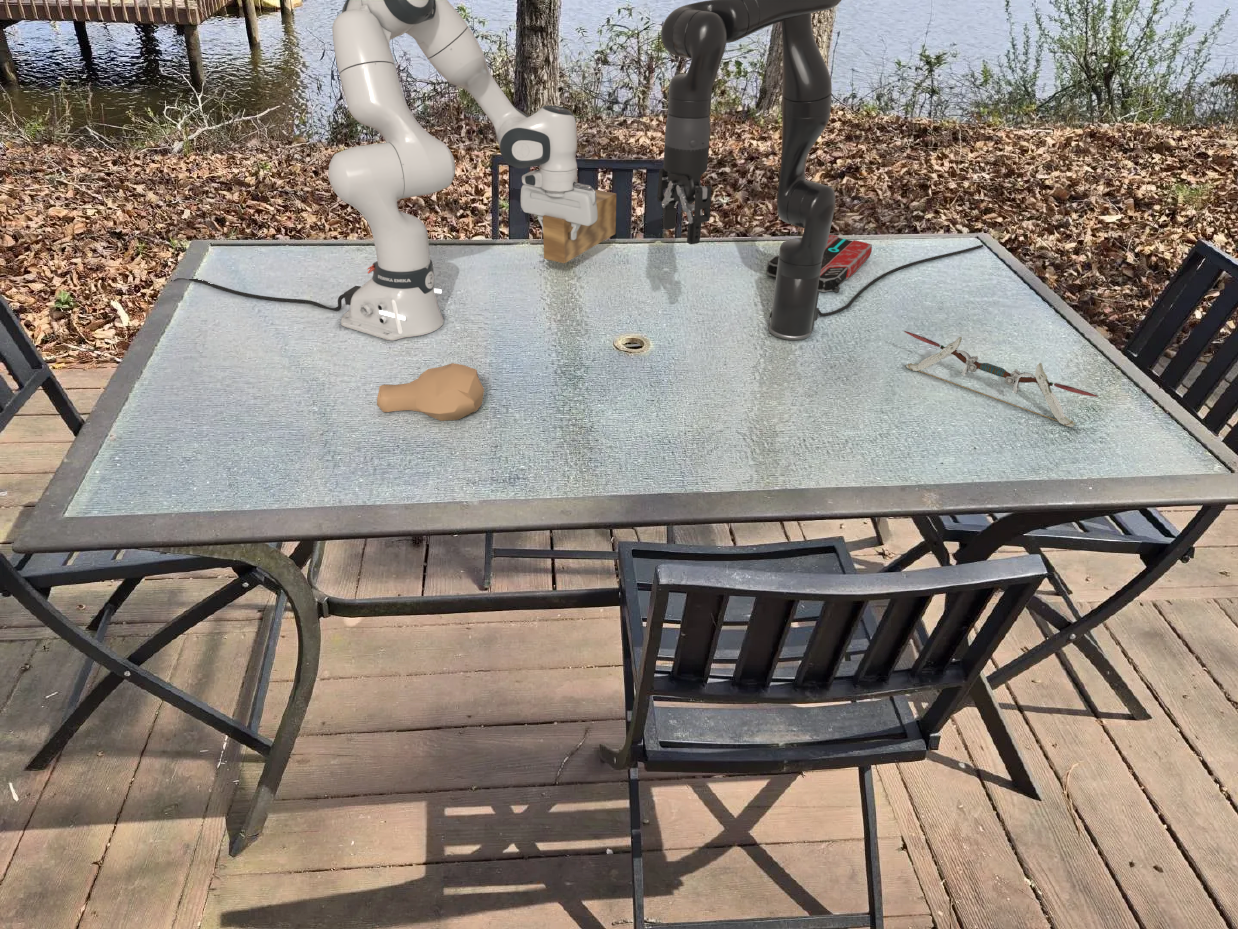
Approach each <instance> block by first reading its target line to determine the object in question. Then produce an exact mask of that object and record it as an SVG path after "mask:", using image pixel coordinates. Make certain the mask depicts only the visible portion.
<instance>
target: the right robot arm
mask: <svg viewBox="0 0 1238 929" xmlns="http://www.w3.org/2000/svg"><path fill="white" fill-rule="evenodd" d="M841 1H842V0H702V1H697V2H693V3H689V4H685V5H681V6H680V7H677V8H676V9H674V10H673V11H671V12H670V13H669V14H668V15H667V17H666V18H665V20H664V22H663V24H662V26H661V31H660V32H661V33H660V37H661V42H662V45H663V47H664V48H665V50H666V51H667V52H668V53H670V54H671V55H673V56H675V57H679V58H684V59H689V60H690V65H689V67H688V69H687V72H686V73H679V74H676V75H674V76H672V78H671V79H670V82H669V86H668V102H667V116H666V121H665V122H666V123H665V130H664V131H665V132H664V146H663V148H664V149H663V165H662V166H663V167H661V168H659V171H658V183H657V194H656V199H657V202H661V207H662V208H663V220H662V222H663V223H662V227H663V229H664V230H666V231H667V230H675V228H676V223H677V208H676V207H677V205H678V204H679V205H681V208H682V211H683V212H684V213H686V217H687V221H688V222H687V223H688V224H687V234H686V243H687V244H689V245H696V244H699V243H700V240H701V232H702V224H703V223H708V222H710V220H711V201H712V187H711V185H705V186H704V185H702V183H701V177H702V175H704V174H705V173H706V172H707V170H708V164H709V152H710V151H709V150H710V138H711V106H712V94H713V92H712V91H713V87H714V84H715V81H716V78H717V75H718V72H719V68H720V66H721V63H722V59H723V56H724V53H725V50H726V45H727V44H731V43H734V42H737V41H739V40H741V39H744V38H745V37H748V36H750V35H752V34H754V33H756V32H758V31H760V30H763V29H766V28H769V27H770V26H773V25H776V24H778V23H780V27H781V40H782V42H781V43H782V89H781V91H782V92H781V123H782V124H781V126H782V127H781V130H782V131H781V156H780V158H781V159H780V169H779V177H778V187H777V196H776V197H777V199H776V210H777V214H778V217H779V219H780V220H781V221H782V222H784V223H786V224H788V225H792V226H795V227H799V228H802V229H803V233H802V236H801V237H796V238H790V239H787V240H785V241H783V242H782V243H781V244H780V247H779V253H778V255H779V259H778V266H777V274H776V277H775V282H774V291H773V298H772V305H771V311H770V313H769V320H770V321H769V326H768V332H769V333H770V334H771V335H772V336H774V337H776V338H778V339H781V340H786V341H802V340H806V339H808V338H810V337H811V335H812V332H813V331H814V328H815V322H816V321H818V317H819V316H820V317H828V316H832V315H836V314H838V313H840V312H842V311H845V310H847V309H848V308H850V307H851V306H852V304H853V303H854V302H855V300H856V299H857V298H859V297H860V296H861V294H863V293H864V292H865V291H866V290H867V289H869V287H871V286H872V285H873V284H875V283H877V282H878V281H879V280H881V279H883V278H885V277H886V276H888V275H891V274H893V273H896V272H897V271H901V270H903V269H906V268H909V267H912V266H915V265H918V264H922V263H926V262H930V261H934V260H938V259H942V258H946V257H950V256H955V255H960V254H964V253H966V252H972V251H974V250H975V251H976V250H978V249H981V248H984V244H979V245H975V246H972V247H969V248H965V249H961V250H957V251H953V252H949V253H944V254H939V255H935V256H932V257H927V258H923V259H919V260H916V261H912V262H909V263H906V264H904V265H903V264H902V265H900V266H897V267H895V268H893V269H891V270H889V271H886V272H885V273H883V274H882V273H881V275H879V276H877V277H876V278H874V279H873V280H871V281H870V282H868V283H867V284H866V285H864V287H863V288H861V289H860V290H859V291H858V292H857V293H856V294H855V295H853V297H852V298H851V299H850V301H849V302H848V303H847V304H845V305H844V306H842V307H840V308H837V309H836V310H833V311H828V312H822V311H821V310H820V308H819V307H818V303H819V296H820V291H818V285H819V278H820V272H821V265H822V259H823V254H824V251H825V249H826V246H827V243H828V238H829V234H831V233H830V232H831V227H832V223H833V219H834V215H835V210H836V200H837V198H836V193H835V190H834V188H833V187H832V186H829V185H826V184H823V183H819V182H815V181H811V180H808V179H806V164H807V159H808V155H809V154H810V152H811V150H812V148H813V147H814V145H815V144H816V142H817V141H818V139H819V138H820V137H821V135H822V134H823V133H824V131H825V129H826V127H827V125H828V124H829V121H830V117H831V110H832V92H833V91H832V90H833V89H832V88H833V86H832V85H833V84H832V78H831V75H830V72H829V69H828V67H827V64H826V62H825V59H824V58H823V55H822V53H821V51H820V49H819V46H818V44H817V42H816V39H815V36H814V31H813V24H812V13H816V12H822V11H823V12H824V11H828V10H831V9H834V8H835V7H836V6H838V5H839V4H840V3H842V2H841ZM665 189H666V190H665ZM664 190H665V192H664ZM693 212H694V213H693Z"/></svg>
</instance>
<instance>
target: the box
mask: <svg viewBox="0 0 1238 929" xmlns="http://www.w3.org/2000/svg"><path fill="white" fill-rule="evenodd" d="M594 190H595V191H596V203H597V213H598V219H597V221H596V222H595V223H594V224H592V225H590V226H585V225H581V226H580V227H579V229H578V231H577V237H576V239H575V240H570V239H568V232H570V231H572V229H573V227H572V226H571V222H567V221H566V220H565V219H561V218H556V217H551V216H547V215H544V216H543V233H542V237H543V238H542V240H543V259H544V260H547V261H552V262H557V263H560V264H566V263H568V262H570V261H571V260H573V259H575V258H576V257H578V256H580V255H582V254H583V253H585V252H587V251H589V250H590V249H592V248H594V247H595V246H597V245H599V244H601V243H603V242H604V241H606V240H607V239H609V238H612V236H614V235H616V234H617V233H616V231H617V230H616V229H617V226H616V225H617V192H616V193H614V192H610V191H605V190H600V189H594Z"/></svg>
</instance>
